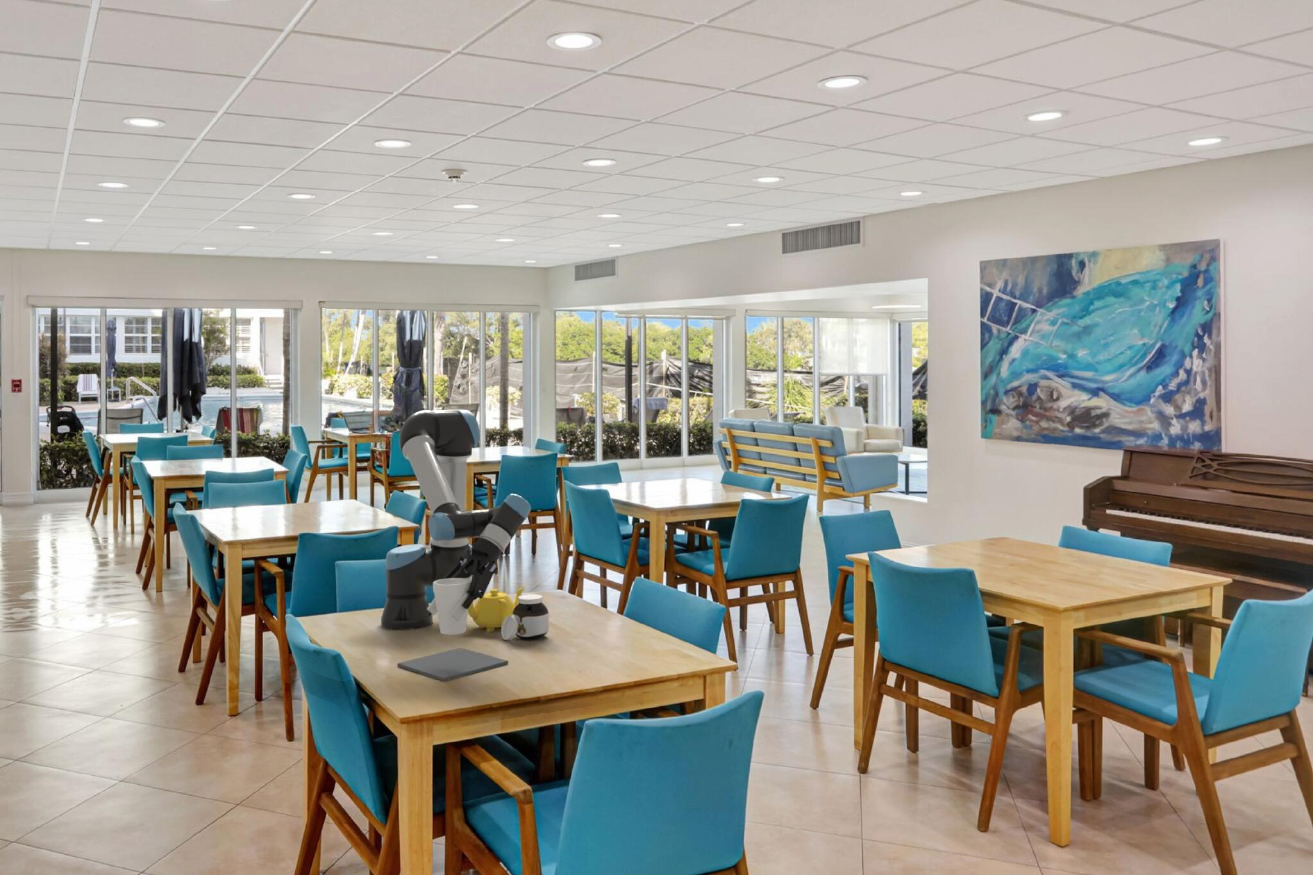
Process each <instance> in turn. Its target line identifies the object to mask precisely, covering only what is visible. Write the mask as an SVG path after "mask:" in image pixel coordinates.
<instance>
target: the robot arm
mask: <svg viewBox="0 0 1313 875" xmlns="http://www.w3.org/2000/svg"><path fill="white" fill-rule="evenodd" d="M480 433H481V431H480V427H479V422H478V420H477V418H476V416H475V415H474V413H473V412H471V411H470V410H468V409H458V408H457V409H456V408H454V409H437V410H436V409H435V410H429V409H427V410H419V411H417V412H415V413H413V414H411V415H410V416H409V417H408V418H407V419H406V420H405V421H404V423H403V425H402V426H401V429H400V432H399V437H398V440H399V441H398V445H399V448H400V450H401V453H402V454H401V455H403V457H404V458H405V459H406V460H408V461H409V463H410V465H411V468H412V471H413V473H414V475H415V477H416V479H417V482H418V485H419V486H420V489H421V491H422V494H423V496H424V498H425V500H426V503H427V506H428V508H429V510H430V513H431V515H430V516H429V519H428V524H427V525H428V530H429V535H430V537H431V539H430V547H428V548H426V546H425V545H424V544H422V543H414V544H405V545H401V546H398V547H395V548H392V549H390V550H389V551H387V554H386V556H385V565H384V567H385V568H384V569H385V585H386V586H385V589H386V590H385V591H386V601H385V604H384V606H383V611H382V615H381V619H380V622H381V623H380V626H381V625H382V626H383V628H384V627H385V629H388V628H392V629H391V630H411V629H410V628H414V629H421V628H424V626H425V627H427V626H431V625H432V624H433V623H432V622H433V621H434V620H433V616H435V615H436V614H437V608H436V602H435V596H434V597H433V599H432V601H431V602H430V604H429V602H428V599H427V588H429V587H430V588H431V587H433V582H434V581H436V580H440V579H447V578H465V579H469V580H471V584H470V588H469V591H466V592H467V593H468V594H469V595H468V594H464V596H463V597H462V599H461V600H460V602H459V603H458V605H457V606H456V608H455V609H454V610H453V612H452V613H451V615H452V616H453V617H454V618H455V619H456V620H457V621H459V620H460V619H461V617H462V616H463V614H464V613H465V611H466V610H467V609H468V608H469V607H470V605H471V604H472V602H473V603H474V601H475V600H477V599H479V598H480V599H481V598H483V596H484V594H486V593H487V592H486V591H487V589H488V587H489V585H490V582H491V580H492V578H493V576H494V574H495V573H496V571H498V568H499V567H497V565H496V563H497V561H498V560H499V559H500V557H502V553H503V552H504V551H505V550H506V549H507V546H508V545H509V544H510V542H511V541H512V539H513V538H514V537H515V535H516V534H517V532H518V531H519V529H520V528H521V526H522V525H523V523H524V522H525V520H528V519H527V518H528V516H529V515H530V513H531V510H532V507H531V504H530V503H529V502H528V500H526V499H525V497H522V496H521V495H519V494H517V493H510V494H509V495H507V496H506V498H505V499H504V500H503V502H502V503H501V504H500V505H497V506H496V507H494V508H486V509H485V508H484V509H483V508H482V509H473V510H466V494H467V493H466V490H467V488H466V487H467V461H468V459H469V458H470V457H472V455H473V449H475V448H477V447H478V446H479V442H480V440H481V434H480ZM474 538H477V539H476V541H475V542H474V543H473V545H471V544H470V540H469V539H474ZM382 626H381V627H382Z"/></svg>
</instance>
